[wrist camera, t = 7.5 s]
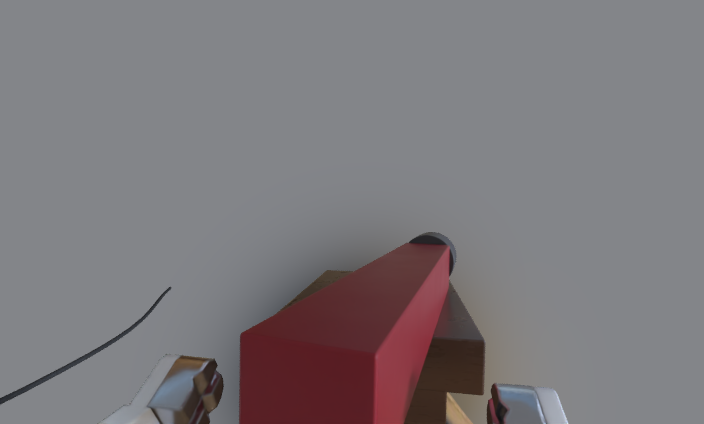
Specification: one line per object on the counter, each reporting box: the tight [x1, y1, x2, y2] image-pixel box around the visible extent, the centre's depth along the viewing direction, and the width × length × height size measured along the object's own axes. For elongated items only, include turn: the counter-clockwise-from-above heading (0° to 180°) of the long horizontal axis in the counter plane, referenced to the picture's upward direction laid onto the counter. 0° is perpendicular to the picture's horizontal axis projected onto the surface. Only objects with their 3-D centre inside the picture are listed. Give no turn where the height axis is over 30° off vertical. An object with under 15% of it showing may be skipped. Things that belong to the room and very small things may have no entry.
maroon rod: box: [239, 232, 456, 424], centre depth 17 cm, size 22×4×4 cm, turn 161°
